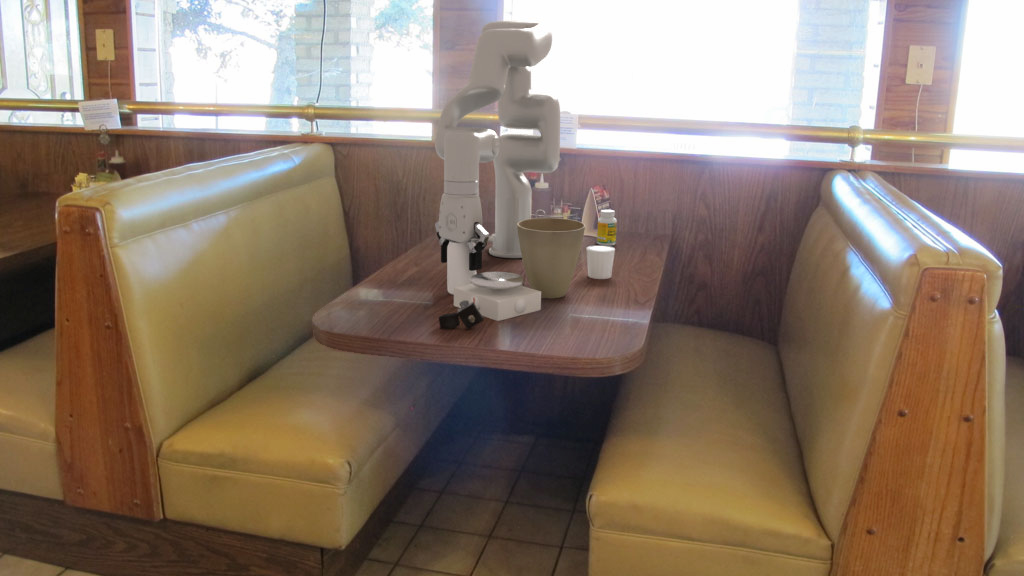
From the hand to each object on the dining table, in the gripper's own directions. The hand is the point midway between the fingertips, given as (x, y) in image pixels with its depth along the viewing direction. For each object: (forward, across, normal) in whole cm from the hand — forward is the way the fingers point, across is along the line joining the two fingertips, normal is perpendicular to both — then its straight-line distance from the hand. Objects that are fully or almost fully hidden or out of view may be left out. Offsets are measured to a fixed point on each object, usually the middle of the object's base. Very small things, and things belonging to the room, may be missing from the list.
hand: (461, 265), depth 186 cm
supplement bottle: (+5, -13, +64) cm, 66 cm away
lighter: (+7, +20, -16) cm, 26 cm away
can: (+6, 0, 0) cm, 6 cm away
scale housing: (+6, +14, -2) cm, 15 cm away
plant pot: (+6, +13, +14) cm, 21 cm away
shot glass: (+6, +10, +36) cm, 37 cm away
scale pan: (+2, +14, -2) cm, 14 cm away
